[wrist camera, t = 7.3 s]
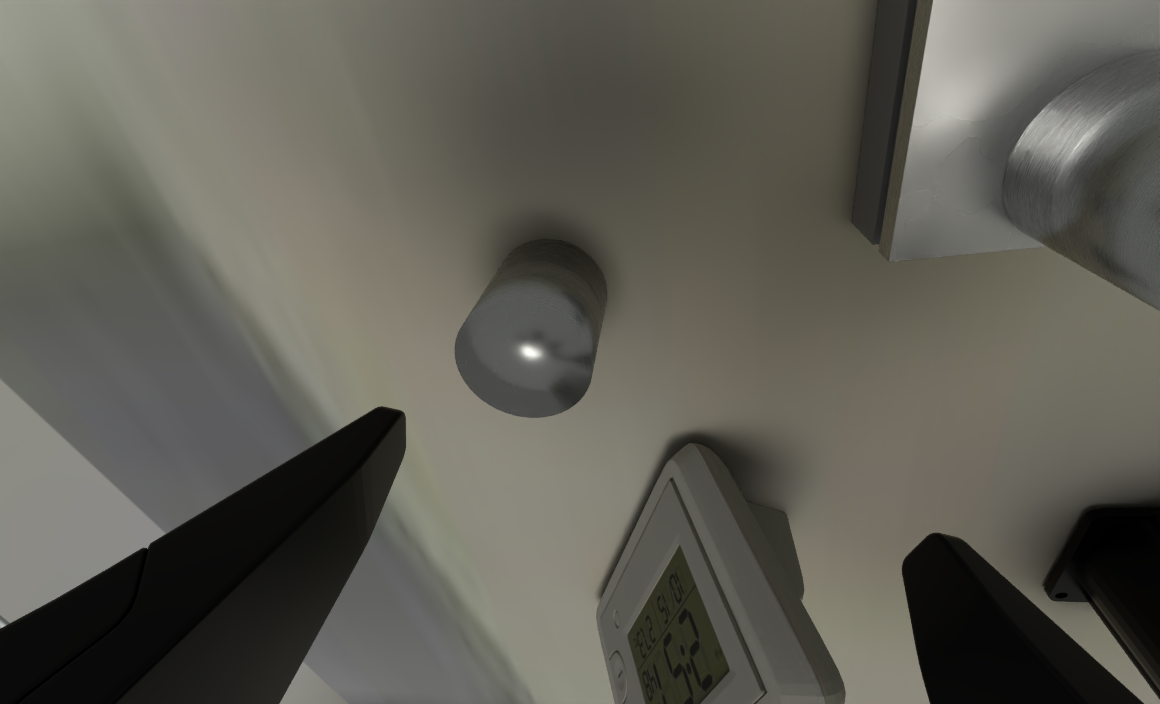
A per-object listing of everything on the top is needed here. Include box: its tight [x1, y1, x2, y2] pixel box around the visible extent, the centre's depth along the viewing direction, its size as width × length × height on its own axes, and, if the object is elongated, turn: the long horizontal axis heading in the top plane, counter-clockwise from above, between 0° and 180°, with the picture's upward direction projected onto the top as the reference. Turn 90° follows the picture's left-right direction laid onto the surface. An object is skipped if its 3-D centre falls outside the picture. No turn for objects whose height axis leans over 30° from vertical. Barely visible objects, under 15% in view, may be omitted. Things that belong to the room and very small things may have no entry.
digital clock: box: [596, 443, 846, 704], centre depth 23 cm, size 16×9×11 cm, turn 156°
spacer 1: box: [455, 239, 607, 418], centre depth 18 cm, size 4×4×5 cm
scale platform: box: [879, 0, 1160, 262], centre depth 11 cm, size 10×9×1 cm
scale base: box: [852, 0, 918, 245], centre depth 12 cm, size 10×9×2 cm
